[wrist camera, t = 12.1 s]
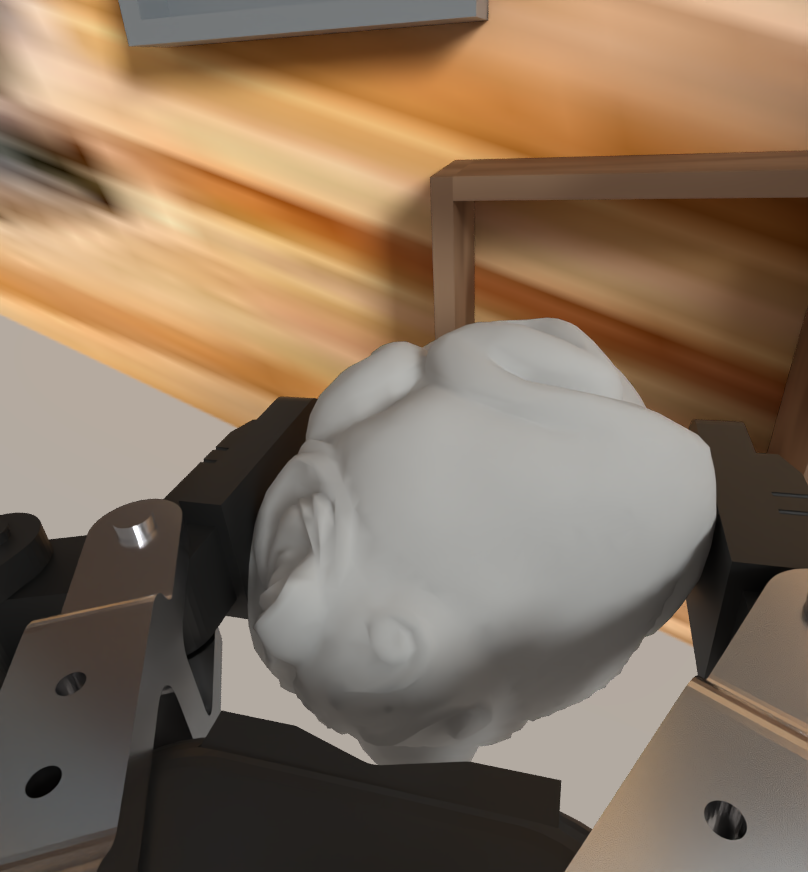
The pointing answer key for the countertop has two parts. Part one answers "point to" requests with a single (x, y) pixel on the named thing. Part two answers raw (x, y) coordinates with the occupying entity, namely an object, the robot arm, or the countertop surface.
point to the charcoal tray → (281, 18)
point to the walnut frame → (612, 179)
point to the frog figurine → (474, 538)
